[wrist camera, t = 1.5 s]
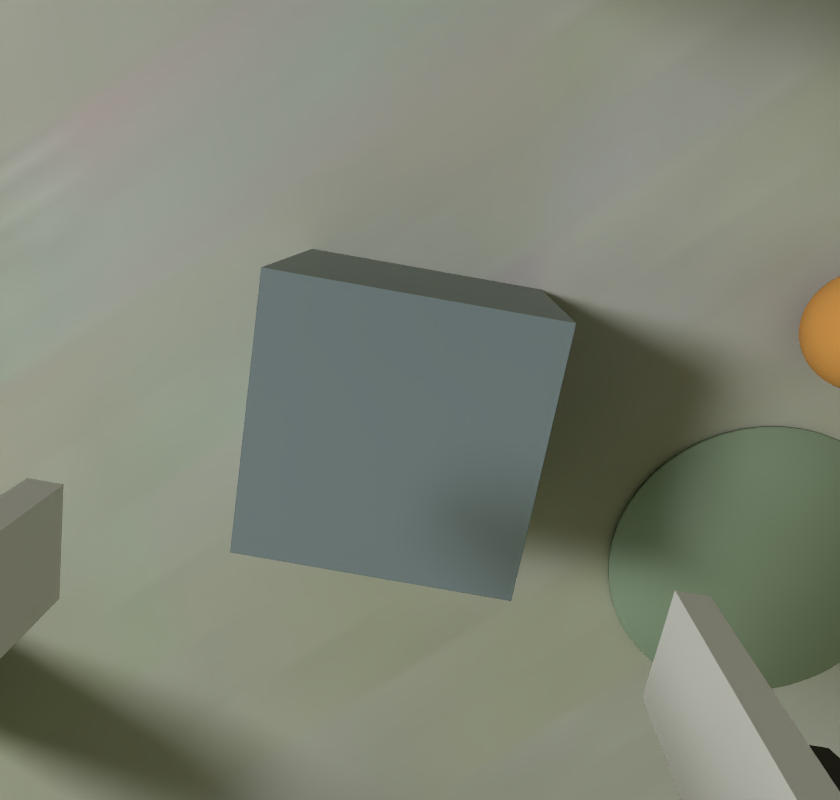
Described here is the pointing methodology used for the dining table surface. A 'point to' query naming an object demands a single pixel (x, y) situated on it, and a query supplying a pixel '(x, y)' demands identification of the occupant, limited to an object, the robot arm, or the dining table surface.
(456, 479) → the slate square block
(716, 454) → the green flat disc
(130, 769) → the dining table surface
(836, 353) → the ball
